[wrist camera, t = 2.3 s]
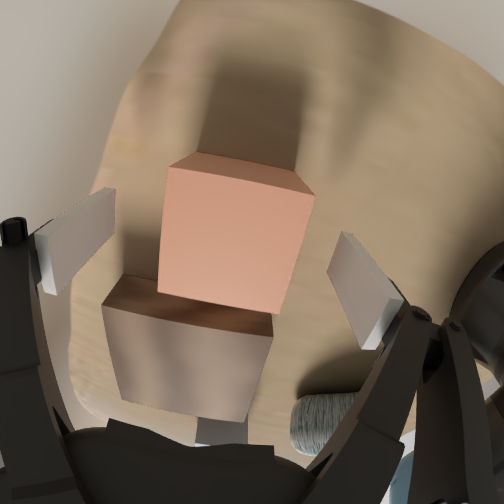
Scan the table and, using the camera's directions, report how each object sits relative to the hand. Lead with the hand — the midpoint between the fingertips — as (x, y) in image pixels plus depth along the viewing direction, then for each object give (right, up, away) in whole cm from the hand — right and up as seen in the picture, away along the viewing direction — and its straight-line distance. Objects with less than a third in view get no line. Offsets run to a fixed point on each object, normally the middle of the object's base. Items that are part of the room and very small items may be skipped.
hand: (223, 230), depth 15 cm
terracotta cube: (0, +2, +5) cm, 5 cm away
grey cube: (-3, -23, +17) cm, 29 cm away
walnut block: (-5, -10, +11) cm, 15 cm away
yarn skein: (+13, -20, +16) cm, 28 cm away
